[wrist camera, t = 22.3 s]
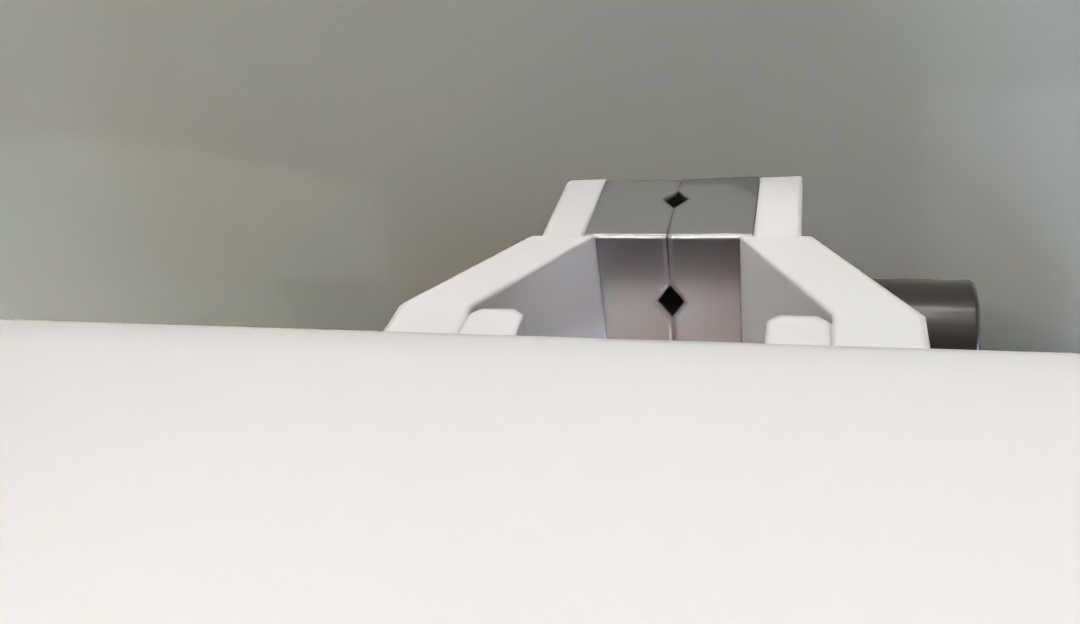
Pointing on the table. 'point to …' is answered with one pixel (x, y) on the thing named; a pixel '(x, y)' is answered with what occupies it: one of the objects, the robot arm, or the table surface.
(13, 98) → the table surface
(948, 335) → the drawer
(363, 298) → the table surface
